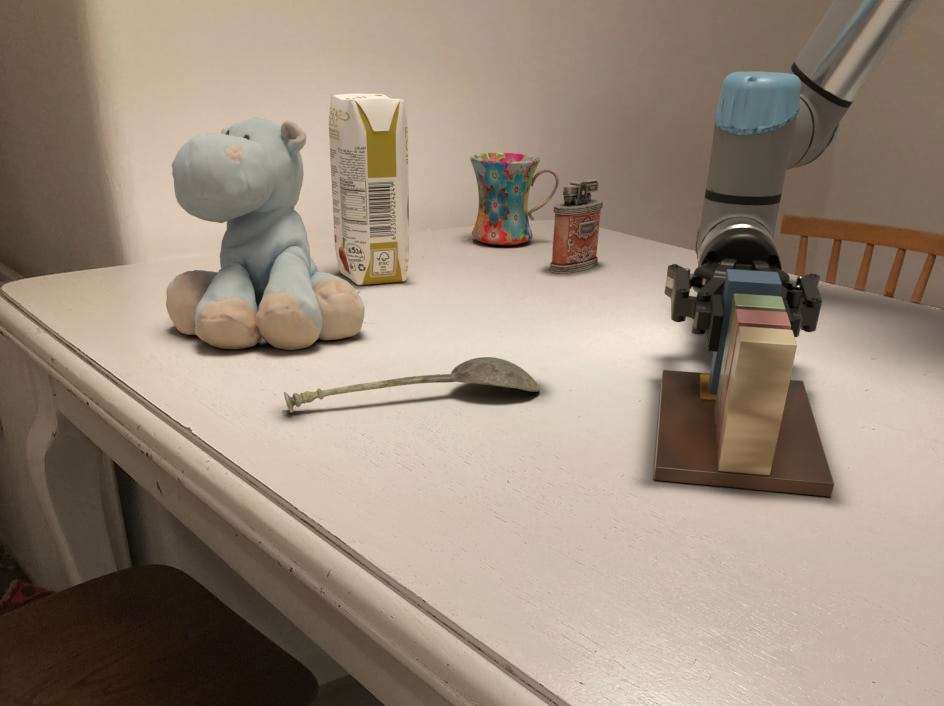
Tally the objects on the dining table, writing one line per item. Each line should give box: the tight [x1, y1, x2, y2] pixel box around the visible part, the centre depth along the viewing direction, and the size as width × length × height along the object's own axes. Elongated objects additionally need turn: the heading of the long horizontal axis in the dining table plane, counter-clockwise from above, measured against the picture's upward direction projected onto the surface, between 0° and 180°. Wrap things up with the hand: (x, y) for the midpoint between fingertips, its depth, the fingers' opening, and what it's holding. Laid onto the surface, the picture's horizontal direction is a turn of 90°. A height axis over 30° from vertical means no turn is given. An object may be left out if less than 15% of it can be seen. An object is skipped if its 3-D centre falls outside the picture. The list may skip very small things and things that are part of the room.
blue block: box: [709, 269, 782, 394], centre depth 78 cm, size 4×4×9 cm
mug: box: [469, 152, 560, 246], centre depth 131 cm, size 12×9×11 cm
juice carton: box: [328, 93, 410, 286], centre depth 110 cm, size 8×9×19 cm
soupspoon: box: [283, 356, 541, 414], centre depth 80 cm, size 22×3×7 cm
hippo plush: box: [165, 116, 366, 351], centre depth 92 cm, size 18×23×18 cm
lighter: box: [549, 178, 604, 274], centre depth 119 cm, size 8×3×10 cm, turn 137°
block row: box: [653, 294, 835, 498], centre depth 73 cm, size 12×22×10 cm, turn 169°
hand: (750, 336), depth 73 cm, fingers open, 4 cm apart
